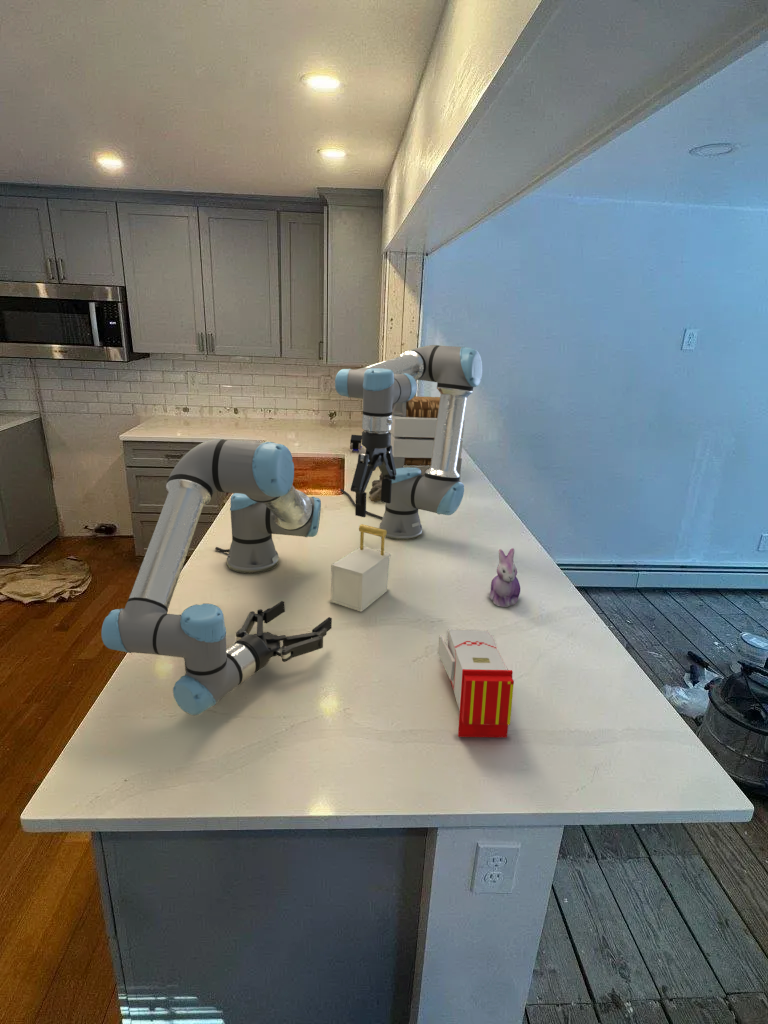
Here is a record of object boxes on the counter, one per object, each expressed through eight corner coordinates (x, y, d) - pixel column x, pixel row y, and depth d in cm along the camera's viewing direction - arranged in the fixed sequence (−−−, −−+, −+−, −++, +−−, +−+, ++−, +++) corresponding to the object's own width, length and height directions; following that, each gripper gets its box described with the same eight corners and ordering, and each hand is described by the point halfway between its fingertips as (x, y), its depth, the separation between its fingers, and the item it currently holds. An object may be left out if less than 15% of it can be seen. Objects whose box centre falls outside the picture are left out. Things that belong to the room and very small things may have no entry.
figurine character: (361, 456, 307) (362, 446, 320) (362, 442, 303) (362, 433, 317) (349, 455, 306) (350, 446, 320) (349, 442, 303) (350, 433, 316)
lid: (361, 548, 161) (362, 521, 158) (390, 556, 157) (392, 528, 154) (331, 567, 148) (331, 538, 146) (362, 576, 144) (363, 546, 141)
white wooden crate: (382, 463, 289) (386, 382, 275) (445, 464, 293) (451, 384, 279) (390, 482, 257) (394, 392, 243) (460, 483, 261) (468, 394, 247)
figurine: (502, 611, 151) (509, 560, 146) (479, 594, 159) (485, 545, 154) (530, 604, 155) (537, 554, 150) (506, 588, 163) (512, 540, 158)
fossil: (368, 477, 249) (395, 458, 244) (381, 493, 252) (408, 475, 247) (361, 498, 229) (391, 478, 224) (375, 515, 232) (405, 496, 227)
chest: (358, 581, 164) (359, 549, 160) (387, 590, 160) (389, 557, 156) (330, 602, 152) (331, 567, 148) (361, 611, 148) (362, 576, 144)
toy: (488, 613, 130) (523, 677, 101) (484, 667, 133) (517, 744, 104) (435, 612, 130) (455, 676, 101) (432, 666, 133) (451, 743, 103)
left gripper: (200, 655, 122) (265, 613, 140) (292, 695, 111) (350, 644, 129) (197, 624, 120) (264, 586, 137) (292, 662, 108) (351, 615, 126)
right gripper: (364, 441, 133) (361, 525, 140) (411, 425, 154) (406, 499, 161) (337, 437, 137) (336, 519, 144) (387, 421, 157) (383, 494, 165)
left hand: (306, 614), depth 133 cm, fingers open, 13 cm apart
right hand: (373, 509), depth 153 cm, fingers open, 13 cm apart
